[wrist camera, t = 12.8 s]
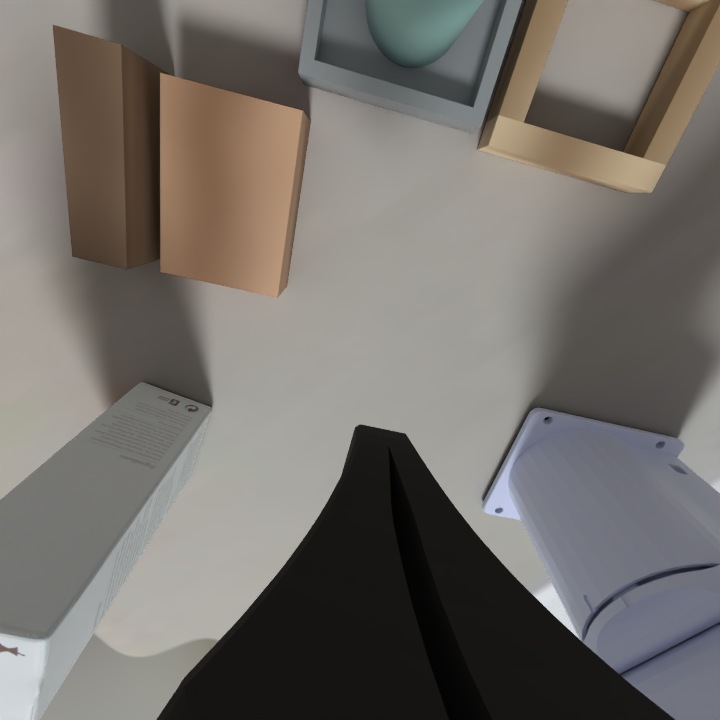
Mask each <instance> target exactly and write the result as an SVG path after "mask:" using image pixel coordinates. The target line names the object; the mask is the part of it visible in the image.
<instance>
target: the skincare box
mask: <svg viewBox="0 0 720 720" xmlns="http://www.w3.org/2000/svg"><path fill="white" fill-rule="evenodd" d="M211 411H212V408H211V407H209V406H207V405H204V404H201V403H199V402H196V401H193V400H191V399H188V398H184V397H182V396H179V395H177V394H174V393H171V392H168V391H165V390H163V389H160V388H158V387H155V386H152V385H150V384H147V383H144V382H140V383H138V384H137V385H136V386H135V387H134V388H132V389H131V390H130V391H129V392H128V393H126V394H125V395H124V396H123V397H122V398H120V399H119V400H118V401H117V402H116V403H115V404H113V405H112V406H111V407H110V408H109V409H108V410H106V411H105V412H104V413H103V414H102V415H100V416H99V417H98V418H97V419H96V420H95V421H93V422H92V423H91V424H90V425H89V426H88V427H86V428H85V429H84V430H83V431H81V432H80V433H79V434H78V435H77V436H76V437H74V438H73V439H72V440H71V441H69V442H68V443H67V444H66V445H65V446H64V447H62V448H61V449H60V450H59V451H58V452H56V453H55V454H54V455H53V456H52V457H51V458H50V459H48V460H47V461H46V462H45V463H44V464H42V465H41V466H40V467H39V468H38V469H37V470H35V471H34V472H33V473H32V474H31V475H29V476H28V477H27V478H26V479H25V480H24V481H22V482H21V483H20V484H19V485H18V486H16V487H15V488H14V489H13V490H12V491H11V492H9V493H8V494H7V495H6V496H5V497H4V498H2V499H1V500H0V720H40V718H41V717H42V715H43V713H44V712H45V710H46V708H47V707H48V705H49V704H50V702H51V700H52V699H53V697H54V695H55V694H56V692H57V691H58V689H59V687H60V686H61V684H62V683H63V681H64V679H65V678H66V676H67V675H68V673H69V671H70V670H71V668H72V666H73V665H74V663H75V662H76V660H77V658H78V657H79V655H80V654H81V652H82V651H83V649H84V648H85V646H86V644H87V643H88V641H89V640H90V638H91V636H92V635H93V633H94V632H95V630H96V628H97V627H98V625H99V624H100V622H101V620H102V619H103V617H104V615H105V614H106V612H107V610H108V609H109V607H110V606H111V604H112V602H113V601H114V599H115V598H116V596H117V594H118V593H119V591H120V589H121V588H122V586H123V585H124V583H125V581H126V580H127V578H128V577H129V575H130V573H131V572H132V570H133V568H134V567H135V565H136V564H137V562H138V560H139V559H140V557H141V555H142V554H143V552H144V550H145V549H146V547H147V546H148V544H149V542H150V541H151V539H152V538H153V536H154V534H155V533H156V531H157V530H158V528H159V526H160V525H161V523H162V521H163V520H164V518H165V517H166V515H167V513H168V512H169V510H170V509H171V507H172V505H173V504H174V502H175V500H176V499H177V497H178V496H179V494H180V493H181V491H182V489H183V488H184V486H185V484H186V483H187V481H188V480H189V477H190V474H191V471H192V468H193V465H194V462H195V459H196V456H197V453H198V450H199V447H200V444H201V441H202V438H203V435H204V432H205V429H206V426H207V423H208V420H209V417H210V414H211Z"/></svg>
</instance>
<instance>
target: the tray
mask: <svg viewBox="0 0 720 720" xmlns="http://www.w3.org/2000/svg"><path fill="white" fill-rule="evenodd" d="M521 3H522V0H484V1H483V3H482V4H481V5H480V7H479V8H478V10H477V11H476V12H475V14H474V15H473V17H472V18H471V19H470V21H469V22H468V24H467V25H466V26H465V28H464V29H463V31H462V32H461V34H460V35H459V36H458V38H457V39H456V41H455V42H454V43H453V45H452V46H451V47H450V49H449V50H448V51H447V52H446V53H445V54H444V55H443V56H442V57H441V58H440V59H438V60H437V61H435V62H434V63H432V64H429V65H427V66H424V67H419V68H407V67H403V66H400V65H397V64H395V63H394V62H392V61H390V60H389V59H388V58H387V57H385V56H384V54H383V53H382V52H381V51H380V50H379V48H378V47H377V46H376V44H375V42H374V40H373V38H372V35H371V33H370V30H369V27H368V23H367V17H366V0H308V4H307V11H306V18H305V25H304V33H303V40H302V47H301V54H300V61H299V69H298V74H299V76H300V78H301V80H302V81H303V83H304V85H308V86H311V87H315V88H318V89H322V90H325V91H328V92H332V93H335V94H339V95H342V96H346V97H349V98H352V99H356V100H359V101H363V102H366V103H370V104H373V105H376V106H380V107H383V108H387V109H390V110H393V111H397V112H400V113H404V114H407V115H411V116H414V117H417V118H421V119H424V120H428V121H431V122H435V123H438V124H441V125H445V126H448V127H452V128H455V129H459V130H462V131H465V132H469V133H471V132H473V131H475V130H476V129H478V128H480V127H481V126H482V123H483V120H484V117H485V113H486V110H487V107H488V104H489V101H490V98H491V95H492V92H493V89H494V86H495V83H496V80H497V76H498V73H499V70H500V67H501V64H502V61H503V58H504V55H505V52H506V49H507V46H508V43H509V39H510V36H511V33H512V30H513V27H514V24H515V21H516V18H517V15H518V12H519V9H520V6H521Z"/></svg>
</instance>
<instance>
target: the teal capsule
mask: <svg viewBox="0 0 720 720" xmlns="http://www.w3.org/2000/svg"><path fill="white" fill-rule="evenodd" d="M483 1H484V0H366V17H367V23H368V27H369V30H370V33H371V35H372V38H373V40H374V42H375V44H376V46H377V47H378V48H379V50H380V51H381V52H382V53H383V54H384V56H385V57H387V58H388V59H389V60H390V61H392V62H394V63H395V64H397V65H400V66H403V67H407V68H419V67H424V66H427V65H429V64H432V63H434V62H435V61H437V60H438V59H440V58H441V57H442V56H443V55H444V54H445V53H446V52H447V51H448V50H449V49H450V47H451V46H452V45H453V43H454V42H455V41H456V39H457V38H458V36H459V35H460V34H461V32H462V31H463V29H464V28H465V26H466V25H467V24H468V22H469V21H470V19H471V18H472V17H473V15H474V14H475V12H476V11H477V10H478V8H479V7H480V5H481V4H482V3H483Z"/></svg>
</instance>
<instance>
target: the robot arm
mask: <svg viewBox="0 0 720 720" xmlns="http://www.w3.org/2000/svg"><path fill="white" fill-rule="evenodd" d="M546 417H549V418H548V419H547V420H544V419H545V418H546ZM683 449H684V443H683V442H682V441H681V440H679V439H678V438H675V437H670V436H666V435H661V434H657V433H652V432H648V431H643V430H639V429H634V428H630V427H625V426H621V425H616V424H612V423H607V422H602V421H598V420H593V419H589V418H584V417H580V416H575V415H571V414H566V413H562V412H557V411H553V410H548V409H544V408H535V409H533V410H531V411H530V413H529V414H528V416H527V418H526V420H525V422H524V424H523V426H522V428H521V430H520V432H519V434H518V436H517V438H516V440H515V441H514V443H513V445H512V447H511V449H510V451H509V453H508V455H507V457H506V459H505V461H504V463H503V465H502V467H501V469H500V471H499V472H498V474H497V476H496V478H495V480H494V482H493V484H492V486H491V488H490V490H489V492H488V494H487V496H486V498H485V500H484V502H483V504H482V507H483V510H484V512H485V513H487V514H491V515H496V516H502V517H507V518H512V519H518V520H521V521H522V523H523V525H524V527H525V529H526V531H527V533H528V535H529V537H530V539H531V541H532V543H533V545H534V547H535V549H536V551H537V553H538V555H539V557H540V559H541V561H542V563H543V566H544V568H545V570H546V572H547V574H548V576H549V578H550V580H551V582H552V584H553V586H554V588H555V590H556V592H557V594H558V596H559V598H560V600H561V602H562V604H563V606H564V608H565V610H566V612H567V614H568V617H569V619H570V621H571V623H572V625H573V627H574V629H575V631H576V633H577V635H578V637H579V639H580V640H579V639H578V638H577V637H576V636H575V635H574V634H573V633H572V632H571V631H570V630H569V629H567V628H566V627H565V626H564V625H563V624H562V623H561V622H560V621H559V620H558V619H557V618H556V617H555V616H553V615H552V614H551V613H550V612H549V611H548V610H547V609H546V608H545V607H544V606H543V605H542V604H541V603H540V602H539V601H538V600H537V599H536V598H535V597H534V596H533V595H532V594H531V593H530V592H529V591H528V590H527V589H526V588H525V587H524V586H523V585H522V584H521V583H520V582H519V581H518V580H517V579H516V578H515V577H514V576H513V575H512V574H511V573H510V572H509V570H508V569H507V568H506V567H505V566H504V565H503V564H502V563H501V562H500V560H499V559H498V558H497V557H496V556H495V555H494V554H493V553H492V552H491V550H490V549H489V548H488V547H487V546H486V545H485V544H484V543H483V541H482V540H481V539H480V538H479V537H478V535H477V534H476V533H475V532H474V531H473V529H472V528H471V527H470V526H469V524H468V523H467V522H466V520H465V519H464V518H463V517H462V515H461V514H460V513H459V512H458V510H457V509H456V508H455V506H454V505H453V504H452V502H451V501H450V500H449V498H448V497H447V495H446V494H445V493H444V491H443V490H442V488H441V487H440V486H439V484H438V483H437V481H436V480H435V478H434V477H433V475H432V474H431V472H430V471H429V469H428V468H427V466H426V465H425V463H424V462H423V460H422V459H421V457H420V456H419V454H418V453H417V451H416V449H415V448H414V446H413V445H412V443H411V442H410V440H409V438H408V437H407V435H406V434H404V433H399V432H395V431H390V430H385V429H380V428H375V427H370V426H365V425H359V426H357V427H355V430H354V433H353V437H352V440H351V444H350V447H349V451H348V454H347V458H346V462H345V465H344V469H343V472H342V476H341V478H340V480H339V482H338V483H337V485H336V487H335V489H334V491H333V493H332V495H331V496H330V498H329V500H328V502H327V504H326V505H325V507H324V509H323V510H322V512H321V513H320V515H319V517H318V518H317V520H316V521H315V523H314V524H313V526H312V527H311V529H310V530H309V532H308V533H307V535H306V536H305V538H304V539H303V540H302V542H301V543H300V545H299V546H298V547H297V549H296V550H295V551H294V553H293V554H292V556H291V557H290V558H289V560H288V561H287V562H286V564H285V565H284V566H283V567H282V569H281V570H280V571H279V573H278V574H277V575H276V576H275V577H274V579H273V580H272V581H271V582H270V583H269V585H268V586H267V587H266V588H265V589H264V591H263V592H262V593H261V594H260V595H259V597H258V598H257V599H256V600H255V601H254V603H253V604H252V605H251V606H250V607H249V609H248V610H247V611H246V612H245V613H244V614H243V615H242V617H241V618H240V619H239V620H238V621H237V622H236V623H235V624H234V626H233V627H232V628H231V629H230V630H229V631H228V632H227V633H226V634H225V635H224V636H223V637H222V638H221V639H220V640H219V641H218V643H217V644H216V645H215V646H214V647H213V648H212V649H211V650H210V651H209V652H208V653H207V654H206V655H205V656H204V657H203V659H202V660H201V661H200V662H199V663H198V664H197V665H196V666H195V667H194V668H193V669H192V670H191V671H190V672H189V673H188V675H187V676H186V677H185V678H184V679H183V680H182V682H181V684H180V686H179V687H178V689H177V690H176V692H175V693H174V694H173V696H172V698H171V699H170V700H169V702H168V703H167V705H166V706H165V708H164V709H163V711H162V712H161V714H160V715H159V717H158V718H157V720H720V493H719V492H717V491H716V490H715V489H714V488H713V487H711V486H710V485H709V484H708V483H707V482H705V481H704V480H703V479H702V478H701V477H699V476H698V475H697V474H696V473H695V472H693V471H692V470H691V469H690V468H689V467H687V466H686V465H685V464H684V463H683V462H681V461H680V460H679V459H678V458H677V457H678V456H679V454H680V453H681V452H682V450H683ZM498 507H500V508H498ZM496 508H497V509H496Z"/></svg>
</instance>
